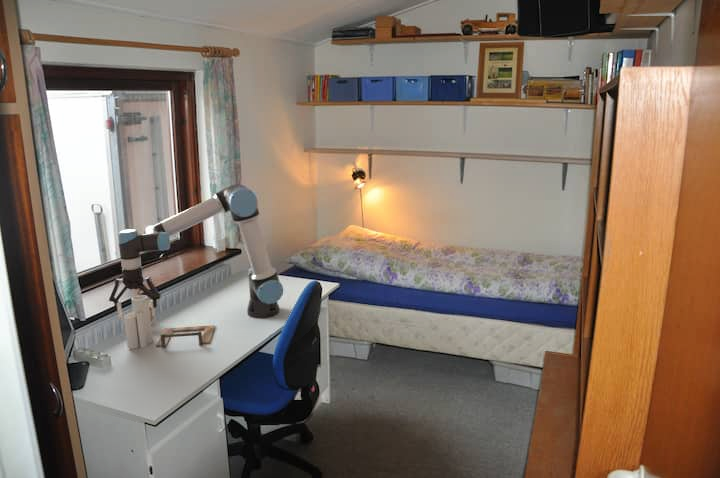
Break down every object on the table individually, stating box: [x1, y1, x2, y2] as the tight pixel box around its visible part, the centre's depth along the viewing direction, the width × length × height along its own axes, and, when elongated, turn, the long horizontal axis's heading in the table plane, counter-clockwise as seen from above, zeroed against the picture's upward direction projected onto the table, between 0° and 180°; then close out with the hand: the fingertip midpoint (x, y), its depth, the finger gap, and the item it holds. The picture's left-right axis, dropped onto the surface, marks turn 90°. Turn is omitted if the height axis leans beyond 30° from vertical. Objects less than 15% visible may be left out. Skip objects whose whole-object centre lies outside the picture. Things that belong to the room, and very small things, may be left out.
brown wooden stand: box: [155, 325, 216, 349], centre depth 245 cm, size 22×19×6 cm
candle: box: [123, 294, 154, 350], centre depth 237 cm, size 11×7×20 cm, turn 160°
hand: (137, 315), depth 236 cm, fingers open, 13 cm apart
